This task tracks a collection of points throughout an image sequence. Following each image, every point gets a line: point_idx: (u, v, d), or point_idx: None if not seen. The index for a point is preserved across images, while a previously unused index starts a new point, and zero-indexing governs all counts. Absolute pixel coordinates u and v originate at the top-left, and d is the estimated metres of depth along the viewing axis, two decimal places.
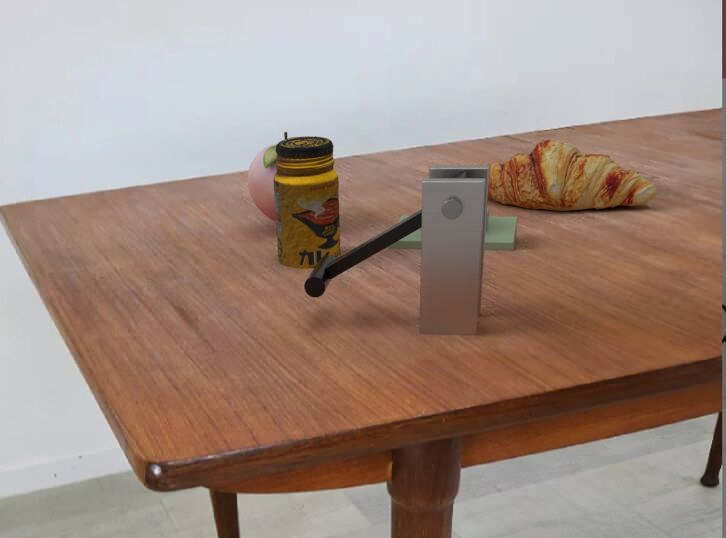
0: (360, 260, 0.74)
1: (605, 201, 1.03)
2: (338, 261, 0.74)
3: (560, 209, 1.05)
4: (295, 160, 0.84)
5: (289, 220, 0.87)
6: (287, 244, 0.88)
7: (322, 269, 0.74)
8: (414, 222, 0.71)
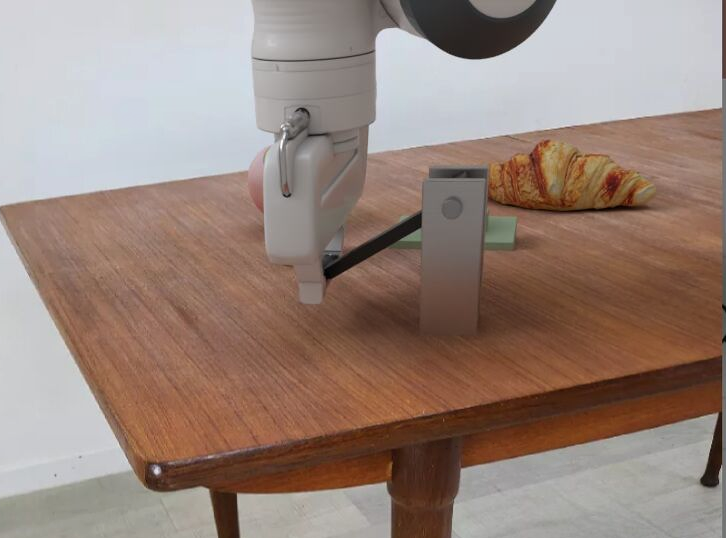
0: (360, 260, 0.74)
1: (605, 201, 1.03)
2: (338, 261, 0.74)
3: (560, 209, 1.05)
4: None
5: None
6: None
7: None
8: (414, 222, 0.71)
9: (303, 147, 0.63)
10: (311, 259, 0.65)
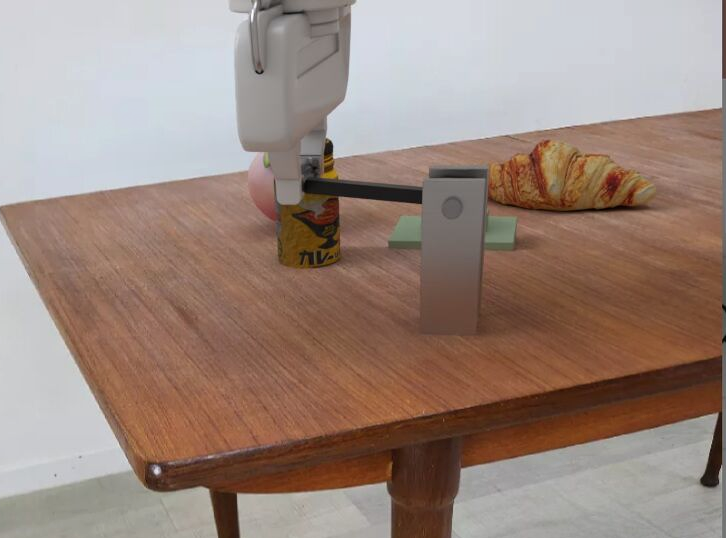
0: (342, 195, 0.71)
1: (605, 201, 1.03)
2: (322, 182, 0.71)
3: (560, 209, 1.05)
4: None
5: (289, 220, 0.87)
6: (287, 244, 0.88)
7: (304, 179, 0.71)
8: (409, 195, 0.70)
9: (276, 20, 0.59)
10: (286, 144, 0.61)
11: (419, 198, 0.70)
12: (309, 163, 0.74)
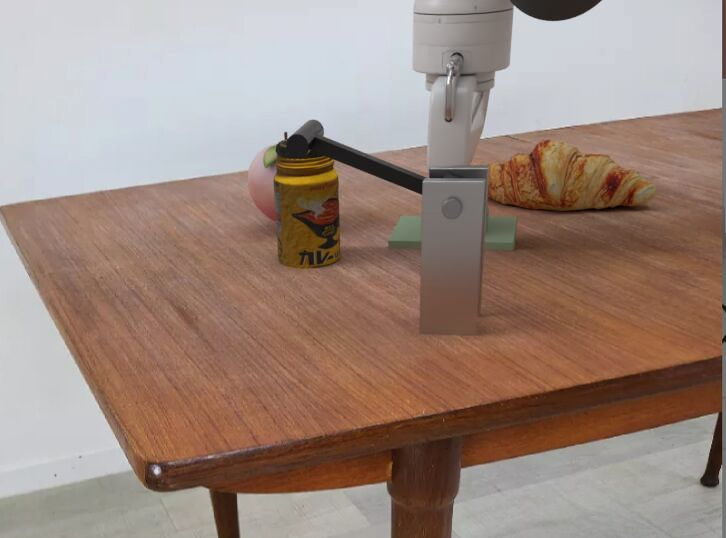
0: (347, 163, 0.70)
1: (605, 201, 1.03)
2: (330, 144, 0.69)
3: (560, 209, 1.05)
4: (295, 160, 0.84)
5: (289, 220, 0.87)
6: (287, 244, 0.88)
7: (313, 136, 0.69)
8: (413, 182, 0.69)
9: (461, 82, 0.80)
10: None
11: (421, 188, 0.69)
12: None
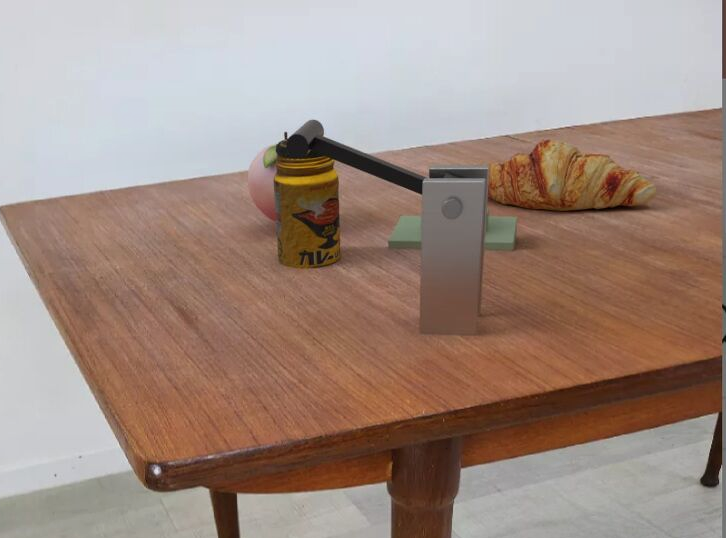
0: (347, 163, 0.70)
1: (605, 201, 1.03)
2: (330, 144, 0.69)
3: (560, 209, 1.05)
4: (295, 160, 0.84)
5: (289, 220, 0.87)
6: (287, 244, 0.88)
7: (313, 136, 0.69)
8: (413, 182, 0.69)
9: None
10: None
11: (421, 188, 0.69)
12: None
